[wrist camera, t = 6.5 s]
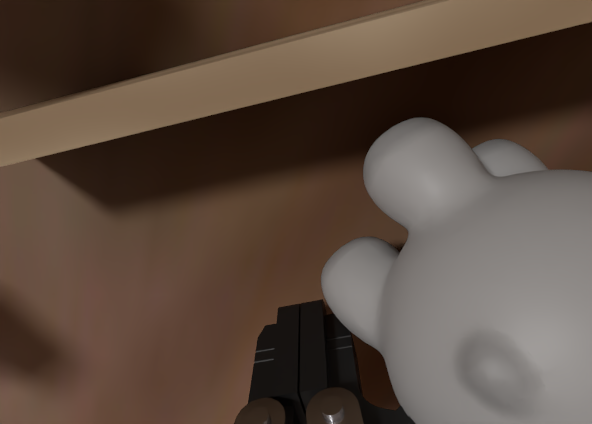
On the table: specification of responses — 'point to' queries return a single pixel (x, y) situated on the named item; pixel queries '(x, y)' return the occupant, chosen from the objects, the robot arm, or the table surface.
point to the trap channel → (279, 70)
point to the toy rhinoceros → (473, 280)
